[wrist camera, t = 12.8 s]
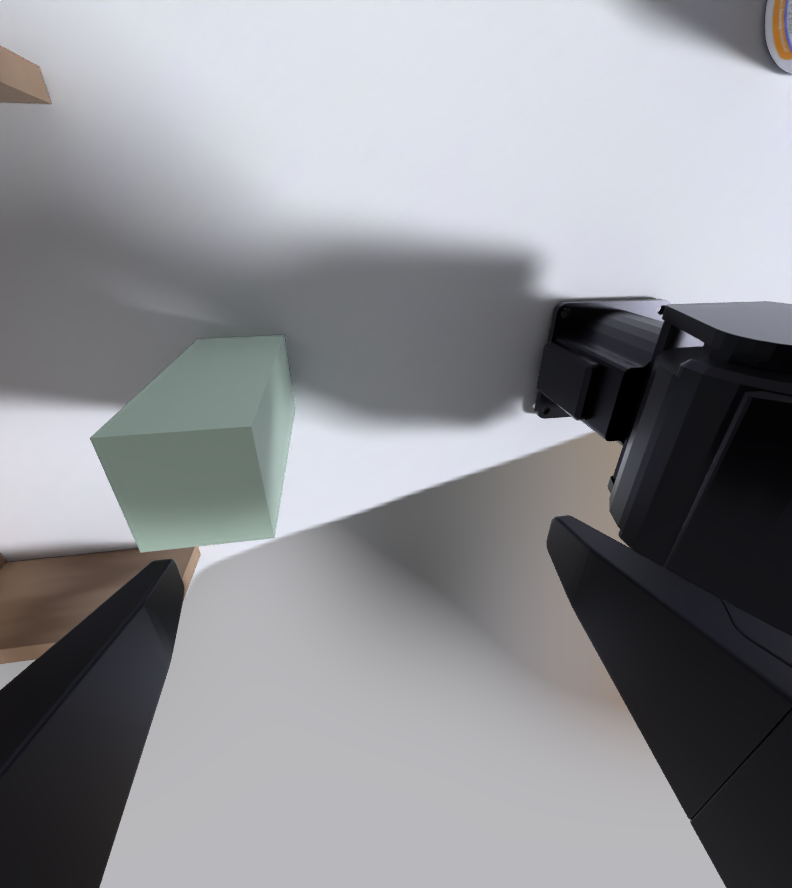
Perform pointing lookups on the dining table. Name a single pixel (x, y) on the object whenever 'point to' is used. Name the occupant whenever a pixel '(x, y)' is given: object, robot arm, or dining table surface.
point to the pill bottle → (779, 32)
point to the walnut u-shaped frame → (69, 577)
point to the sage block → (204, 446)
